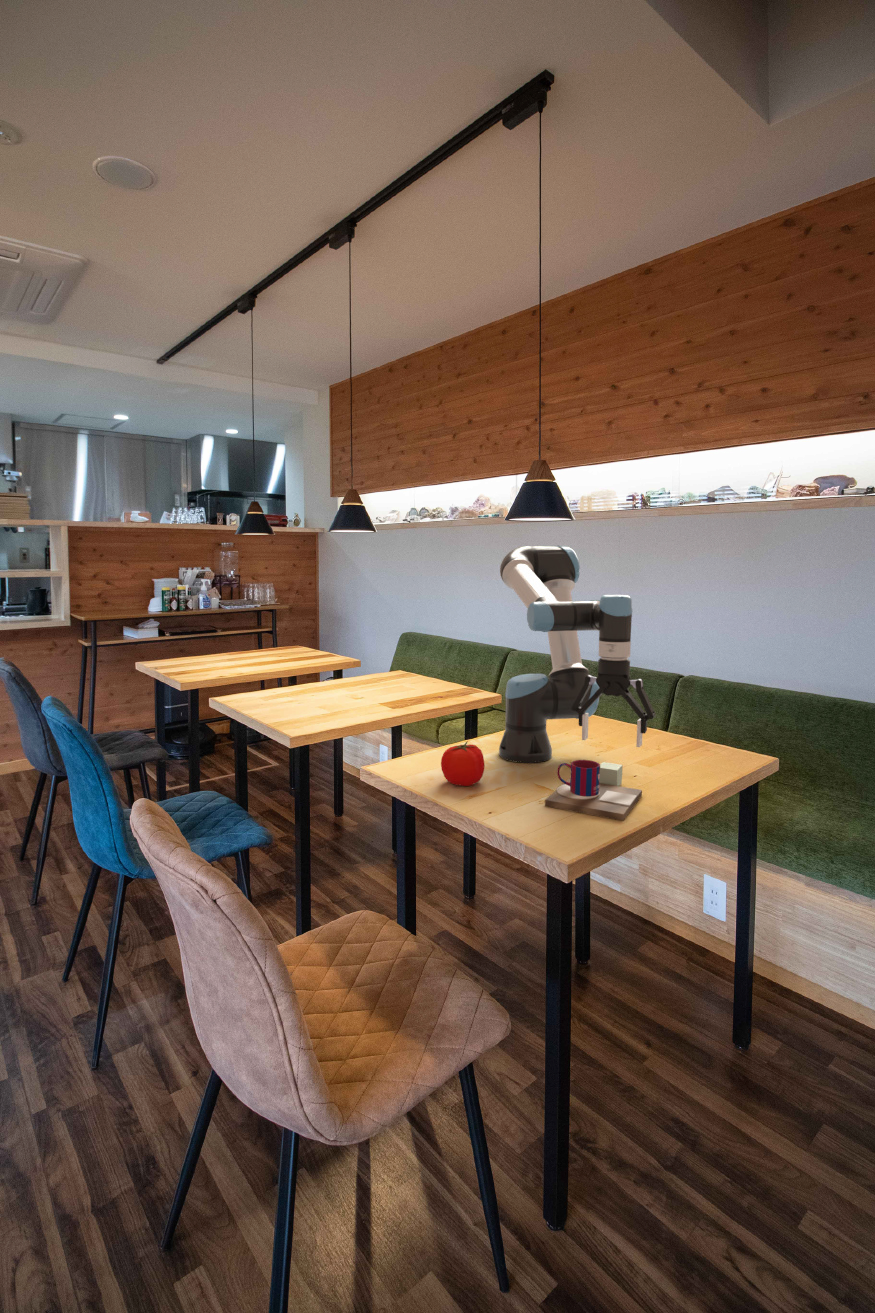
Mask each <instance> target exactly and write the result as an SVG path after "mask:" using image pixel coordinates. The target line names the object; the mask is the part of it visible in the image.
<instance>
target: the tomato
mask: <svg viewBox="0 0 875 1313" xmlns="http://www.w3.org/2000/svg"><path fill="white" fill-rule="evenodd" d="M468 742H469V741H468V740H467V741H466V742H465V743H464V744H459V745H454V746H453V745H452V746H450V747H448V748H447V749H446V750H445V751H444V752H443V754H442V756H441V760H440V765H441V766H440V767H441V772H442V774H443V777H444V778H445V780H446V781H447V782H448V783H450V784H453V785H455V786H460V787H461V786H462V787H470V786H473V785H475V784H477V783H478V782H480V781H481V780H482V778H483V775H484V772H485V757H484V754H483V752H482V750H481V749H480V747H478V746H477V745H475V744H468Z"/></svg>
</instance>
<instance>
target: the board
mask: <svg viewBox="0 0 875 1313" xmlns="http://www.w3.org/2000/svg"><path fill="white" fill-rule="evenodd" d="M570 778H571V777H569V778H568V779H567V780H565V781H566V782H569V783H570ZM642 796H643V790H642V789H639V788H632V787H626V786H621V785H620V786H615V785H609V784H603V783H599V794H598V795H595V796H579V795H575V794H573V793H572V792H571V791H570V786H568V785H566V784H564V783H563V782H562V784H561V785H560V786H558V787H557V788H556V789H555V791H553V792H552V793H551V794H550V795H549V796H547V798H545V799H544V807H548V808H554V809H558V810H564V811H569V812H574V813H579V814H586V815H591V816H596V817H601V818H604V819H605V818H606V819H612V820H617V821H622V822H624V821H625V819H626V818H627V816H628V815H629V814H630V813H631V811H632V810H633V808H634V807H635V806H636V804H637V803H638V802H639V801H640V799H641V798H642Z"/></svg>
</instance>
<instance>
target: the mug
mask: <svg viewBox="0 0 875 1313" xmlns="http://www.w3.org/2000/svg"><path fill="white" fill-rule="evenodd" d="M600 764H601V763H599V762H597V761H594V760H588V759H576V760H573V761H571V763H568V762H567V763H566V762H562V763H560V764H559V765H558V767H557V770H556V773H557V778H558V780H559V781H560V782H561V783H562V784H563V783H564V784H566V785H568V786H570V791H571V792H572V793H573V794H575V795H579V796H595V795H598V794H599V783H600ZM562 766H566V767H568V768H569V769H570V777H569V778H570V783H569V782H566V781H567V780H565V779H563V778H562V776H561V774H560V773H561V772H560V769H561V767H562Z"/></svg>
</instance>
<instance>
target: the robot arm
mask: <svg viewBox="0 0 875 1313" xmlns="http://www.w3.org/2000/svg"><path fill="white" fill-rule="evenodd" d="M499 574H500V578H501V580H502V581H503V583H504V585H505V586H506V587H508V588H509V589H511V590H513V591H514V592H515V594H516V595H517V596H518V598H519V599H520V600H521V601H522V603H523V604H524V606H525V607H526V608H527V611H526V621H527V622H526V623H527V625H528V629H530V630H531V631H534V632H543V633H547V637H548V644H549V651H550V657H551V658H550V659H551V666H552V670H551V671H550V672H549V674H548V675H547V674H544V673H525V674H518V675H516V676H513V677H511V678H509V679H508V681H507V682H506V689H505V694H504V695H505V729H504V732H503V735H502V737H501V741H500V744H499V747H498V748H499V749H498V755H499V757H500V758H502V759H504V760H506V761H510V762H515V763H524V764H525V763H526V764H529V763H530V764H534V763H541V762H546V761H549V760H550V759H551V758H552V755H553V748H552V744H551V741H550V739H549V735H548V732H547V721H548V720H567V719H568V720H569V719H576V720H578V727H581V741H586V740H587V739H588V738H589V718H591V717H592V716H593V715H594V714H595V712H596V711H597V709H598V706H599V702H600V697H601V696H602V695H603V694H604V695H605V696H608V697H609V696H613V697H620V696H621V697H622V699H624V700H625V701H626V703H627V704H629V706H630V707H631V708H632V710H633V711H634V713H635V714H636V715H637V717H639V719H637V722H636V744H635V745H636V746H635V747H636V748H640V747H641V746H642V745H643V735H644V734H646V733H647V732H648V720H653V719H654V718H655V717H656V712H655V710H654V707H653V706H652V704H651V701H650V699H649V697H648V694H647V693H646V690H645V689H644V680H643V679H642V678H638V679H631V678H630V675H631V674H630V673H631V671H630V670H631V660H630V659H629V658H630V657H631V645H632V643H631V642H632V641H631V639H632V636H631V635H632V622H633V621H632V619H633V618H632V617H633V608H632V606H633V605H632V603H633V602H632V601H633V599H632V597H631V596H630V595H626V594H604V595H602V596H601V597H600V600H598V599H594V600H583V601H582V600H581V601H579V600H578V601H577V600H575V601H573V597H572V591H573V589H574V588H575V586H576V583H577V582H578V581H579V579H580V578H579V577H580V560H579V558H578V555H577V553H576V552H575V550H574V549H572V548H570V547H569V546H560V545H554V546H538V545H537V546H535V545H534V546H530V545H529V546H527V545H526V546H525V545H524V546H518V547H517V548H514V549H512V550H511V551H509V552H508V553H507V554H505V556H504V557H503V559H502V560H501V563H500V566H499ZM578 631H580V632H581V631H586V632H587V631H598V637H599V638H598V656H599V657H600V658H599V659H598V664H597V676H593V675H592V674H590V670H589V669H588V668H587V667H585V666H584V665H583V662H582V661H583V660H582V655H581V647H580V642H579V638H578V637H579V635H578ZM631 686H632V687H633V689H635V691H636V693H637V695H638V697H639V701H640V703H641V704H642V706H641V705H640V704H639V703H638V701H637V700H636V698H635V697H634V696H633V694H632V692H631V691H630V690H629V687H631ZM643 708H644V709H643Z"/></svg>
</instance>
